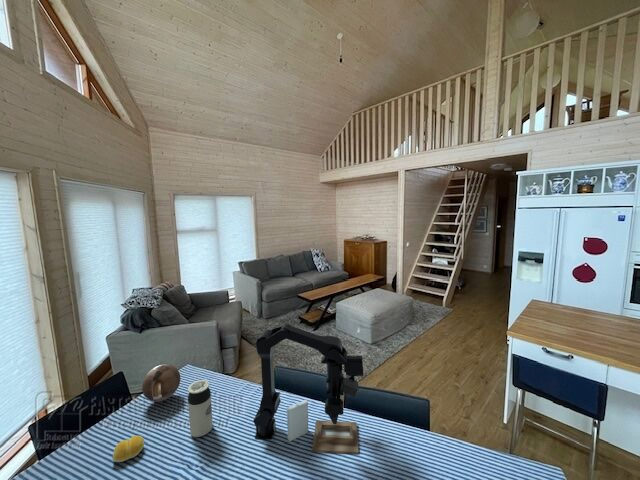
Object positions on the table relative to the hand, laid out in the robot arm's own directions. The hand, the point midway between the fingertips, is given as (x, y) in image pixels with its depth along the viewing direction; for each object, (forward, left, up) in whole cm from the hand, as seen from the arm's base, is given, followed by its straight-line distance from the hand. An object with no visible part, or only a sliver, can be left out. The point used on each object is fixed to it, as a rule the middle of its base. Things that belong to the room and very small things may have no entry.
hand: (335, 413), depth 96 cm
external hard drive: (-14, 0, -10) cm, 17 cm away
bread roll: (-72, -8, -10) cm, 73 cm away
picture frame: (0, 0, -10) cm, 10 cm away
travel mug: (-52, 0, -10) cm, 53 cm away
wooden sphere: (-80, +17, -10) cm, 82 cm away
